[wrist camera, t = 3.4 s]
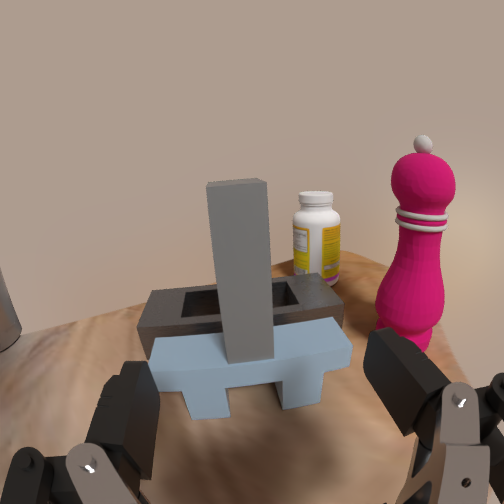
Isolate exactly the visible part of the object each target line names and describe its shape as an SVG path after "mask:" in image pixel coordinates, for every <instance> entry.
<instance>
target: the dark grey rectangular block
mask: <svg viewBox="0 0 504 504" xmlns="http://www.w3.org/2000/svg"><path fill="white" fill-rule="evenodd" d="M272 303H273V326H279V325H286V324H293V323H299V322H305V321H311V320H317V319H323V318H328V317H333V318H334V319H335V321H336V322H337V324H338V325H339V326H340V328H341V329H342V324H343V315H344V305H345V303H344V302H343V301H342V300H341V299H340V298H339V296H338V295H337V294H336V293H335V292H334V291H333V289H332V288H331V287H330V286H329V285H328V284H327V282H326V281H325V280H324V279H323V278H322V277H321V276H320V274H319V273H318V272H317V273H310V274H302V275H294V276H286V277H278V278H272ZM136 328H137V331H138V334H139V337H140V340H141V343H142V346H143V349H144V352H145V355H146V358H147V360H150V356H151V352H152V349H153V345H154V341H155V338H160V337H176V336H190V335H202V334H213V333H223V326H222V319H221V312H220V305H219V297H218V290H217V284H215V285H205V286H195V287H185V288H174V289H164V290H152V292H151V294H150V297H149V299H148V301H147V303H146V306H145V308H144V310H143V313H142V315H141V318H140V320H139V323H138V325H137V327H136Z"/></svg>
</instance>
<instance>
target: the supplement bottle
mask: <svg viewBox="0 0 504 504" xmlns="http://www.w3.org/2000/svg"><path fill="white" fill-rule="evenodd" d="M299 202H300V204H301V209H300V210H299V211H297V212H296V213H295V214H294V216H293V249H294V275H302V274H310V273H317V272H318V273H319V274H320V276H321V277H322V278H323V279H324V280H325V281H326V282H327V284H328V285H329V286H332V285H334V284H335V283H336V282H337V281H338V278H339V262H340V216H339V215H338V213H337V212H335V211H334V210H332V206H331V204H332V202H333V193H331V192H325V191H307V192H301V193H299Z"/></svg>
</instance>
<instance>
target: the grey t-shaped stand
mask: <svg viewBox="0 0 504 504" xmlns="http://www.w3.org/2000/svg"><path fill="white" fill-rule="evenodd" d="M206 191H207V202H208V212H209V221H210V230H211V240H212V249H213V258H214V266H215V274H216V282H217V290H218V297H219V305H220V312H221V319H222V326H223V333H213V334H202V335H190V336H176V337H160V338H155V341H154V345H153V349H152V352H151V356H150V360H149V364H148V365H149V368H150V371H151V373H152V376H153V378H154V381H155V384H156V386H157V389H158V391H159V392H173V391H182V393H183V396H184V399H185V402H186V405H187V408H188V410H189V413H190V416H191V418H192V420H201V419H216V418H228V417H231V415H230V405H229V394H228V388H231V387H240V386H249V385H256V384H263V383H270V382H275V385H276V389H277V392H278V396H279V399H280V403H281V406H282V410H286V409H292V408H297V407H302V406H307V405H311V404H316V403H320V397H321V390H322V383H323V376H324V372H328V371H333V370H337V369H341V368H345V367H349V365H350V360H351V354H352V348H353V345H352V343H351V342H350V341H349V339H348V338H347V336H346V335H345V334H344V332H343V331H342V329H341V328H340V326H339V325H338V324H337V322H336V321H335V319H334V318H333V317H328V318H323V319H317V320H311V321H305V322H299V323H293V324H286V325H279V326H273V303H272V278H271V256H270V237H269V217H268V199H267V183H266V182H265V181H262V180H260V179H258V178H251V179H238V180H227V181H217V182H208V184H207V186H206Z"/></svg>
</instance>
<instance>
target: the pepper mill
mask: <svg viewBox="0 0 504 504" xmlns="http://www.w3.org/2000/svg"><path fill="white" fill-rule="evenodd" d="M414 148H415V150H416V152H417V153H411V154H408V155H405V156H404V157H402V158H400V159H399V160H398V161H397V163H396V164H395V166H394V168H393V171H392V176H391V186H392V191H393V193H394V195H395V196H396V198H397V199H398V201H399V203H400V206H398V207H397V208H396V212H397V217H396V219H395V222H396V223H397V224H398V225H399V242H398V247H397V251H396V254H395V257H394V260H393V262H392V264H391V266H390V268H389V270H388V271H387V273H386V275H385V277H384V278H383V280H382V282H381V284H380V287H379V289H378V292H377V297H376V301H375V307H376V311H377V313H378V315H379V317H380V318H379V319H378V321H377V324H376V330H378V329H382V328H386V327H391V328H392V329H393V330H394V331H395V332H396V333H397V334H398V335H399V336H400V337H402V336H403V337H405V338H407V339H409V340H411V341H413V342H414V343H415V344H416V345H417V346H418V347H419V348H420V349H421V350H422V352H424V351H425V350H426V349H427V347H428V345H429V342H430V339H431V335H432V327H433V326H434V325H436V324H437V322H438V321H439V320H440V319H441V316H442V313H443V308H444V286H443V280H442V275H441V268H440V243H441V237H442V232H443V231H445V230H446V229H447V224H446V223H447V220H446V219H448V214H447V213H446V212H445V209H446V207H447V206H448V205H449V203H450V202H451V201H452V200H453V198H454V195H455V179H454V175H453V172H452V170H451V168H450V167H449V165H448V164H447V163H446V162H445V161H444V160H443V159H441V158H439V157H437V156H435V155H432V154H430V153H431V151H432V149H433V144H432V141H431V140H430V138H429V137H427V136H424V135H419V136H417V137H416V138H415V140H414Z"/></svg>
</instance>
